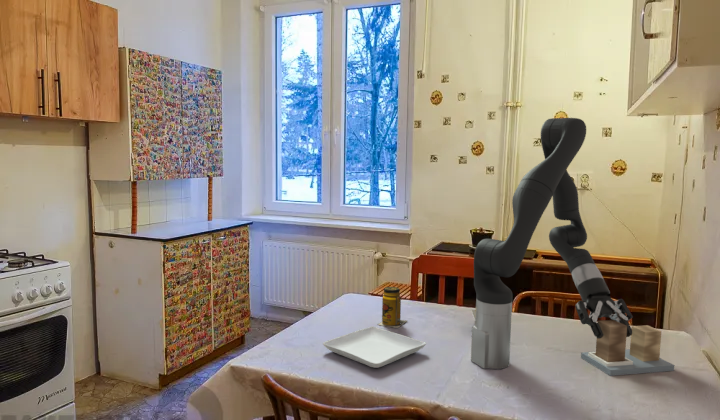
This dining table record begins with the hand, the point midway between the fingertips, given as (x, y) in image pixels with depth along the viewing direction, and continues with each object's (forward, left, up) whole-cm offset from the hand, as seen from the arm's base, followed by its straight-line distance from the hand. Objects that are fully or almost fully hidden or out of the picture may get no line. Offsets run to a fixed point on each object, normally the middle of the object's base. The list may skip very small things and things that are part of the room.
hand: (615, 336), depth 135 cm
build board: (+5, 0, -8) cm, 10 cm away
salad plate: (-56, +30, -9) cm, 64 cm away
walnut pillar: (0, +1, -7) cm, 7 cm away
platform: (-16, +39, -9) cm, 43 cm away
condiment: (-40, +52, -9) cm, 66 cm away
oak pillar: (+11, -1, -7) cm, 13 cm away
